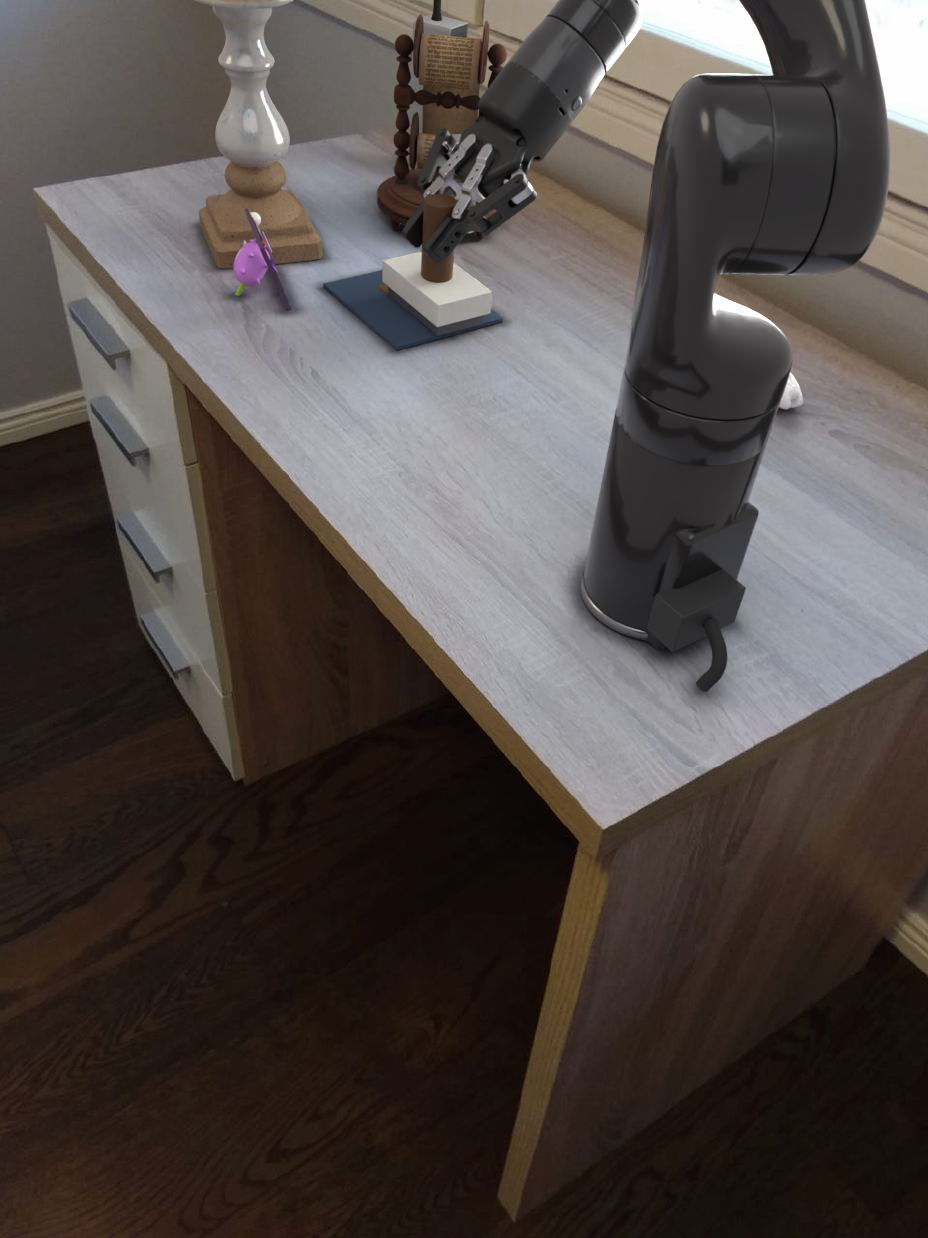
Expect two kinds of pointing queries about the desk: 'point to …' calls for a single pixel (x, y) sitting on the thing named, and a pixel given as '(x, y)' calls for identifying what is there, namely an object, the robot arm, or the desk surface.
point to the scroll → (433, 107)
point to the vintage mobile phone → (438, 27)
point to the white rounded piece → (791, 394)
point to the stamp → (436, 280)
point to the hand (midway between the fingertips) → (420, 248)
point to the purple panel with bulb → (255, 260)
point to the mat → (388, 311)
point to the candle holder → (253, 149)
